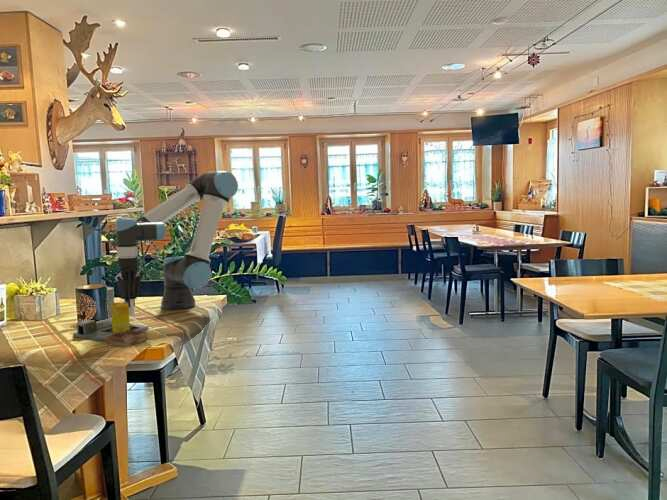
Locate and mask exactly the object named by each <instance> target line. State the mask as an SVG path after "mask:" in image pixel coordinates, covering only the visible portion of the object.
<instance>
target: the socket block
mask: <svg viewBox="0 0 667 500" xmlns="http://www.w3.org/2000/svg"><path fill="white" fill-rule="evenodd" d="M96 322H97V321H95V320H91V319H86V320H82V321H79V322H78V321H77V322H76V332H73V333H72V336H73V337H74V338H79V337H80V338H81V339H85V338H86V339H87V340H91V339H93V341H98V340H100V341H99V342H104V341H105V336H108V335H111V334H114V333H113V329H112V324H111V325H108V326H104V327H101V328H97V325H96ZM130 330H133V331H140V332H146V331H148V330H149V326H146V325H138V324H133V323H132V324H131V323H130ZM86 339H85V340H86Z"/></svg>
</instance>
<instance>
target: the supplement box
mask: <svg viewBox="0 0 667 500" xmlns="http://www.w3.org/2000/svg"><path fill="white" fill-rule="evenodd" d="M111 314H112V329H113V331H112V333H118V332H121V331H124V330H131V329H130V324H131V323H130V316H129V305H128V302H125V301H122V302H121V301H120V302H114V303H111Z"/></svg>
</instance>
